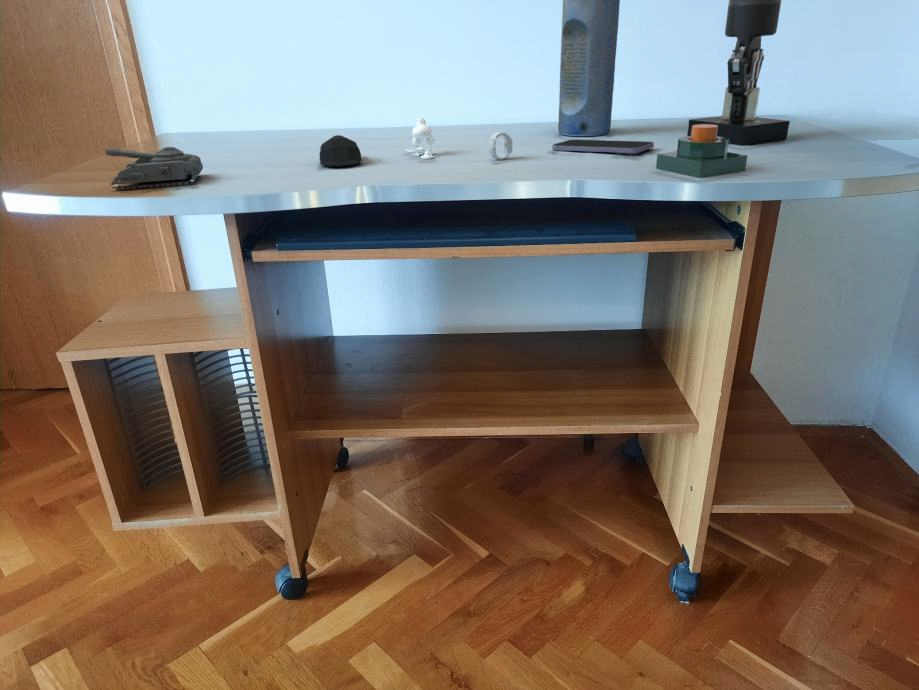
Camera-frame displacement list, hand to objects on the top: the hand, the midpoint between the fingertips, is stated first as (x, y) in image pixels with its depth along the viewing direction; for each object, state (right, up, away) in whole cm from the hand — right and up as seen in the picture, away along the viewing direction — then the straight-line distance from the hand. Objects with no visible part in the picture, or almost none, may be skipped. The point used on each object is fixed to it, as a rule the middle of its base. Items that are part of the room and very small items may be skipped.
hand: (738, 119), depth 107 cm
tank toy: (-89, -15, -15) cm, 92 cm away
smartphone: (-24, -6, -4) cm, 25 cm away
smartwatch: (-40, -9, -8) cm, 42 cm away
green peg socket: (-14, -14, -21) cm, 29 cm away
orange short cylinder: (-14, -11, -23) cm, 29 cm away
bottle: (-23, +2, +13) cm, 27 cm away
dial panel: (0, -3, +1) cm, 3 cm away
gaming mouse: (-66, -8, -4) cm, 66 cm away
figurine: (-53, -6, -1) cm, 53 cm away
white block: (0, 0, 0) cm, 0 cm away
